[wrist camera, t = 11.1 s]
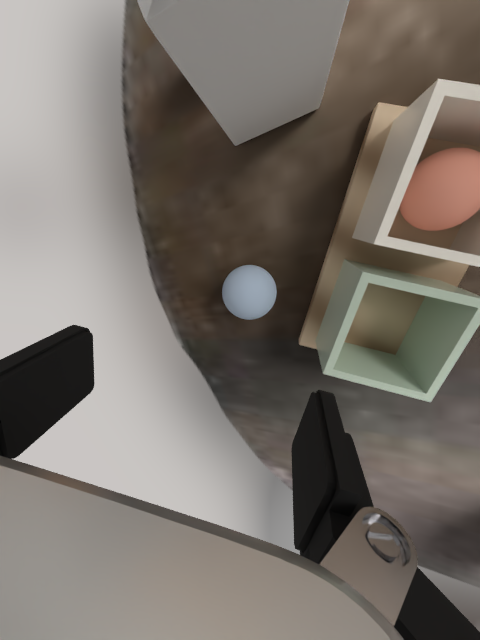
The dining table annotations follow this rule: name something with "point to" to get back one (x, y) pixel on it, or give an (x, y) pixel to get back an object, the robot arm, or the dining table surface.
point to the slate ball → (249, 292)
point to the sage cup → (419, 342)
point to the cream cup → (401, 159)
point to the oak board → (380, 252)
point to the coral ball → (443, 190)
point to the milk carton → (251, 56)
